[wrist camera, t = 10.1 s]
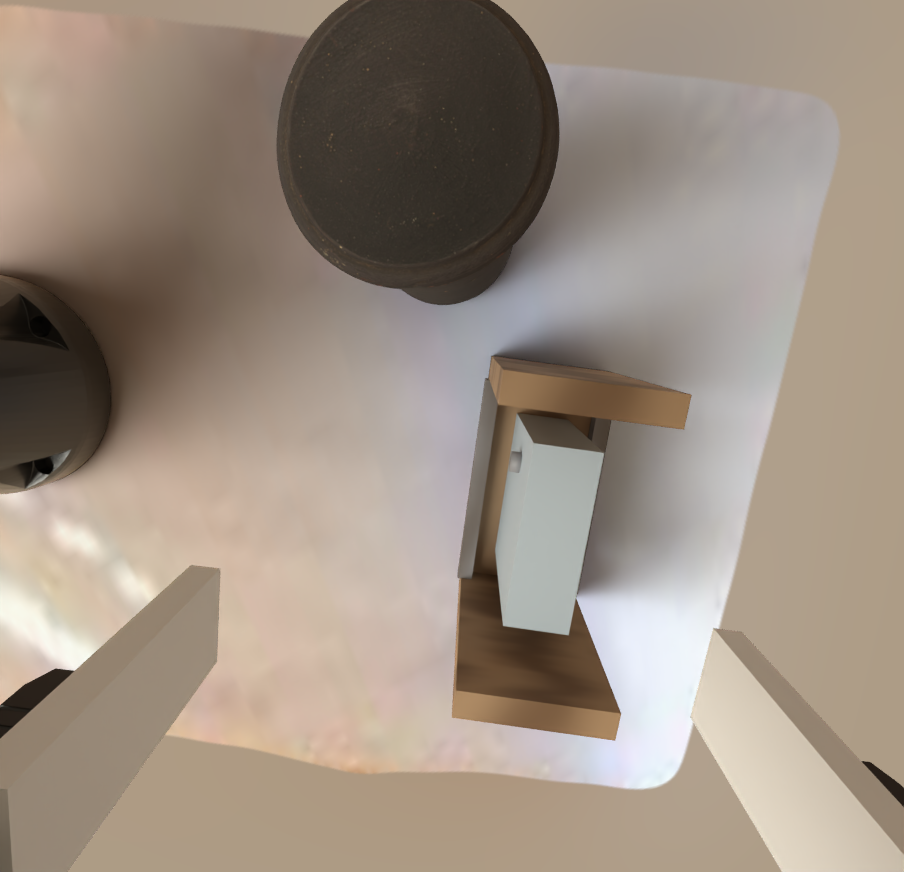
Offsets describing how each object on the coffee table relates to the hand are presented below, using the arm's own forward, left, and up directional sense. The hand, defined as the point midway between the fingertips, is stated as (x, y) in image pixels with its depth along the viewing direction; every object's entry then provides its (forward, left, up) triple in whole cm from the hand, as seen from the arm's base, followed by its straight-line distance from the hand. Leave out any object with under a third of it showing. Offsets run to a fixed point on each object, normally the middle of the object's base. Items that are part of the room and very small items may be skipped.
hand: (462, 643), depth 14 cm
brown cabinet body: (+5, -2, -24) cm, 24 cm away
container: (-3, +14, -24) cm, 28 cm away
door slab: (+5, -2, -23) cm, 23 cm away
